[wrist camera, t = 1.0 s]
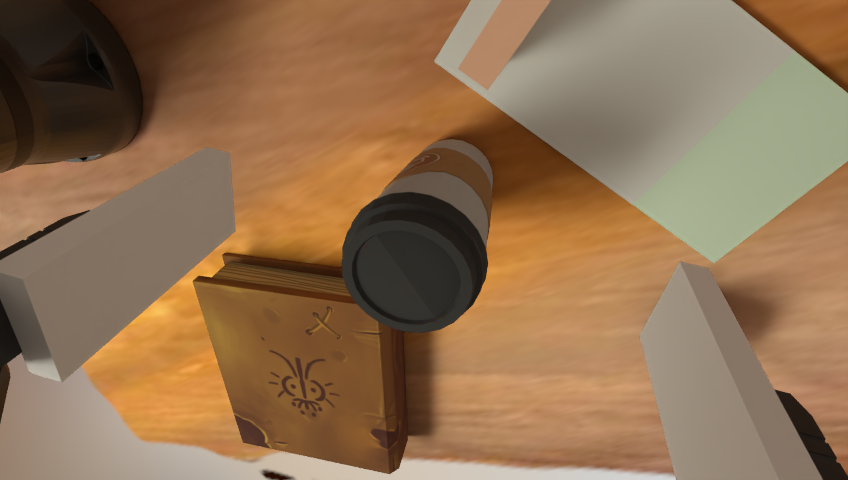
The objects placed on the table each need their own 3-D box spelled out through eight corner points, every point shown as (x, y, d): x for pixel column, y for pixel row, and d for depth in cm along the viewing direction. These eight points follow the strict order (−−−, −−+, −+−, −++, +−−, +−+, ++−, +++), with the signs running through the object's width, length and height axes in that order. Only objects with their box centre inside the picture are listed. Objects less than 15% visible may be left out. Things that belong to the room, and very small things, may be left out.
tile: (477, 47, 32) (457, 68, 26) (554, -73, 28) (555, -85, 21) (501, 64, 32) (488, 90, 26) (582, -52, 28) (591, -56, 22)
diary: (410, 431, 56) (396, 475, 51) (268, 403, 60) (243, 442, 55) (403, 271, 44) (385, 310, 40) (227, 250, 48) (191, 282, 43)
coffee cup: (472, 103, 35) (427, 182, 22) (525, 195, 37) (511, 313, 25) (384, 155, 38) (303, 248, 26) (438, 235, 41) (387, 356, 28)
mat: (435, 60, 34) (434, 61, 33) (556, -139, 27) (556, -141, 27) (712, 260, 36) (714, 263, 36) (886, 125, 30) (891, 128, 29)
